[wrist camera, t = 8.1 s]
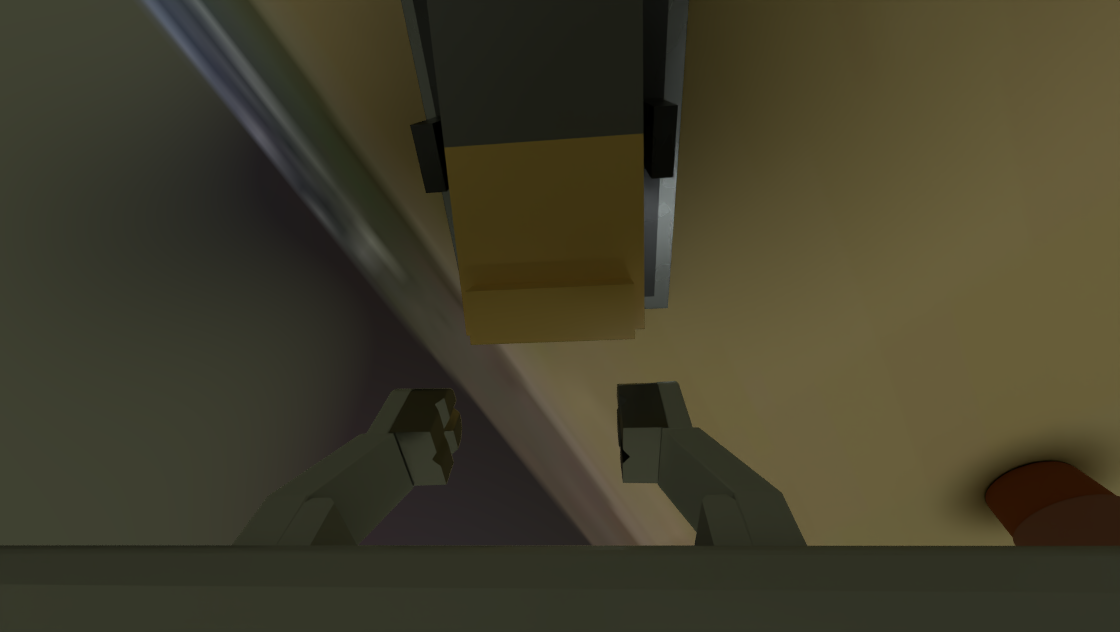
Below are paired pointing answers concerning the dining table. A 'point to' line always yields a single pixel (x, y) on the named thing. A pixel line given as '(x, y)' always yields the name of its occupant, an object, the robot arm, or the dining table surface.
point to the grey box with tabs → (660, 128)
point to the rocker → (544, 164)
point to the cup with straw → (1055, 507)
